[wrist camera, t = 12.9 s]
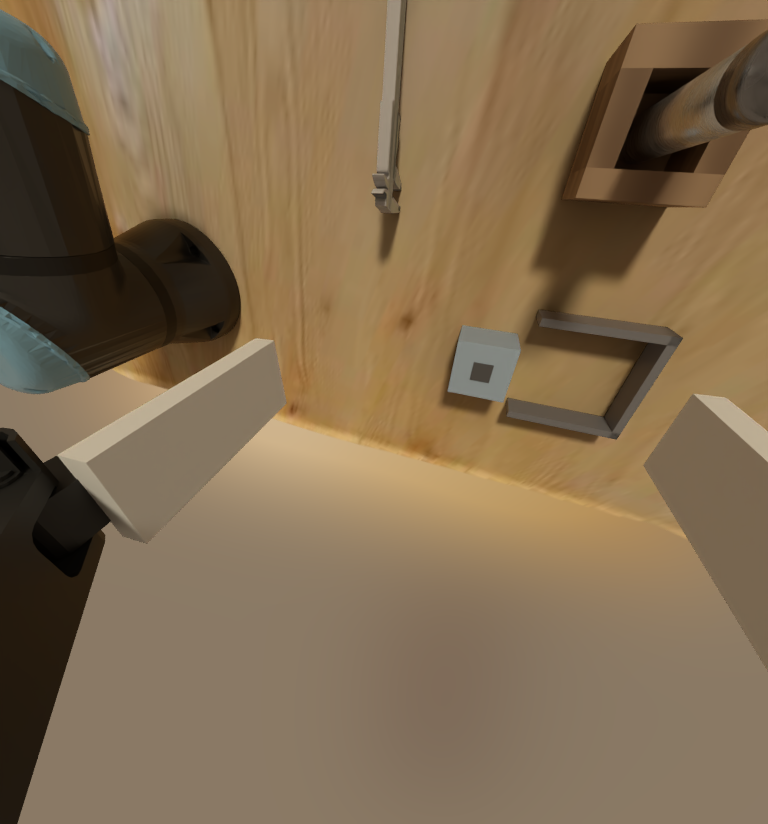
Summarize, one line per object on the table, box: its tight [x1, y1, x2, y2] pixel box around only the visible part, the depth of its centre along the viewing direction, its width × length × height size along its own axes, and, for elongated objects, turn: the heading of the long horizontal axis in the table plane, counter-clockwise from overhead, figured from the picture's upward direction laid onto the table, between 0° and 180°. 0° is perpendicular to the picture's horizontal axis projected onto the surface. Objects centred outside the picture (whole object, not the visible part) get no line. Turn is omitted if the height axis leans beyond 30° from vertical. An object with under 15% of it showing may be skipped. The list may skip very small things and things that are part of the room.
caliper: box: [372, 0, 406, 213], centre depth 22 cm, size 20×1×6 cm, turn 179°
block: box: [448, 325, 521, 402], centre depth 34 cm, size 6×6×5 cm
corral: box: [506, 310, 683, 440], centre depth 32 cm, size 12×12×3 cm
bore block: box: [562, 19, 768, 207], centre depth 21 cm, size 8×8×6 cm
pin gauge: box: [619, 30, 768, 164], centre depth 17 cm, size 3×3×15 cm
